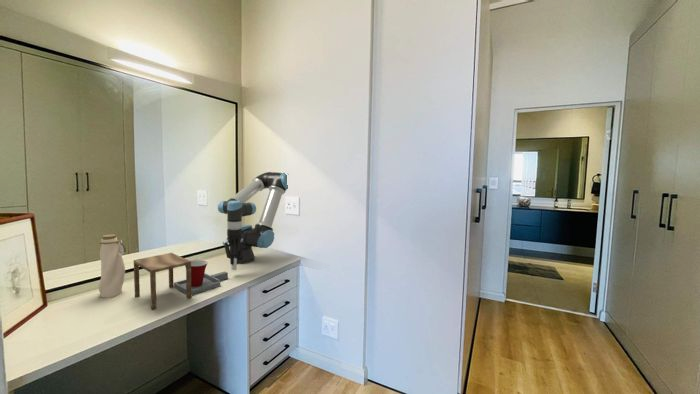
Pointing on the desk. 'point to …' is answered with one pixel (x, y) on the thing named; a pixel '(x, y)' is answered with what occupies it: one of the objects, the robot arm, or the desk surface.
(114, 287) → the water bottle
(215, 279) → the tray
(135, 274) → the small wooden stool
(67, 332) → the desk surface
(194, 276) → the plastic cup
